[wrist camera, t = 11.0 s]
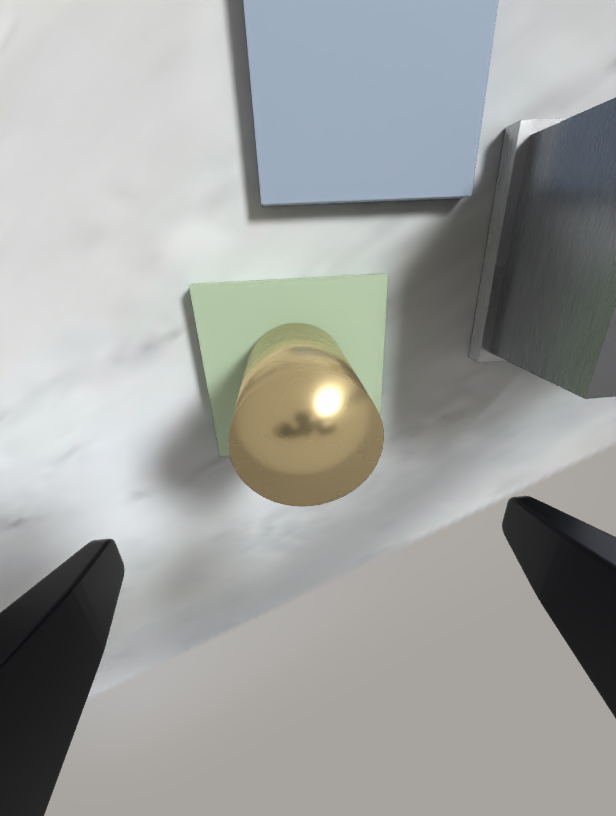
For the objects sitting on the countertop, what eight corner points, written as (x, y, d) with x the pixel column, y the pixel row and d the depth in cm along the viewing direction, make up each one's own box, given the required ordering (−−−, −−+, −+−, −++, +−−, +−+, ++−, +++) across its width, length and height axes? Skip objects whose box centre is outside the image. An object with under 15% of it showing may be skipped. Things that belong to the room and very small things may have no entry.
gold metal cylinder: (345, 319, 16) (387, 365, 10) (345, 412, 19) (380, 499, 12) (239, 326, 16) (215, 378, 10) (252, 420, 18) (239, 512, 12)
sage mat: (382, 273, 16) (387, 274, 16) (375, 435, 20) (379, 443, 20) (192, 283, 16) (188, 285, 15) (221, 449, 20) (220, 456, 19)
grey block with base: (616, 124, 15) (872, 32, 8) (555, 350, 19) (695, 401, 13) (505, 127, 14) (685, 34, 8) (468, 356, 19) (567, 412, 12)
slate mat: (501, -112, 12) (517, -136, 11) (462, 198, 15) (471, 195, 15) (233, -118, 11) (230, -143, 10) (261, 206, 15) (261, 203, 14)
